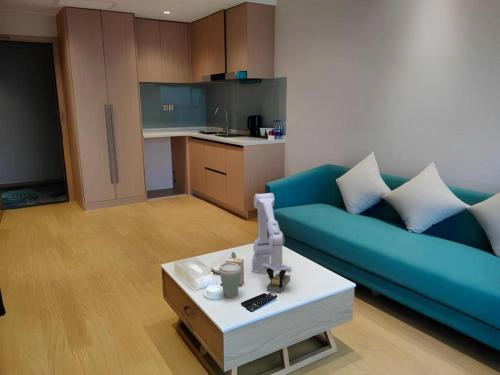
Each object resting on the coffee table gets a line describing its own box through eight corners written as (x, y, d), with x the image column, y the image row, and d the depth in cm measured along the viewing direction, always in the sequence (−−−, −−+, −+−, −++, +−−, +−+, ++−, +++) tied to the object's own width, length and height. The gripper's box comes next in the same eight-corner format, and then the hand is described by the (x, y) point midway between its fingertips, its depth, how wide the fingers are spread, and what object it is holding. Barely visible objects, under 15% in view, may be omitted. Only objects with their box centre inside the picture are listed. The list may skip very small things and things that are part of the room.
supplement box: (244, 282, 198) (244, 258, 195) (241, 286, 193) (240, 262, 191) (229, 280, 200) (228, 256, 198) (226, 284, 196) (225, 260, 193)
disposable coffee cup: (244, 290, 189) (243, 262, 186) (238, 301, 179) (237, 271, 176) (223, 288, 191) (222, 260, 188) (216, 299, 181) (215, 269, 178)
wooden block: (271, 289, 190) (271, 278, 188) (274, 285, 193) (274, 274, 192) (279, 290, 188) (279, 279, 187) (281, 287, 192) (281, 276, 191)
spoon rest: (228, 277, 205) (227, 264, 203) (207, 274, 208) (207, 262, 207) (242, 260, 227) (241, 248, 225) (223, 258, 230) (223, 247, 229)
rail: (266, 291, 188) (266, 286, 187) (277, 277, 202) (277, 273, 202) (280, 293, 185) (280, 288, 185) (289, 279, 200) (289, 275, 199)
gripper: (259, 258, 187) (259, 284, 189) (288, 262, 181) (288, 289, 184) (264, 253, 193) (264, 278, 196) (292, 257, 188) (292, 283, 190)
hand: (276, 283), depth 190 cm, fingers closed on wooden block, 4 cm apart
